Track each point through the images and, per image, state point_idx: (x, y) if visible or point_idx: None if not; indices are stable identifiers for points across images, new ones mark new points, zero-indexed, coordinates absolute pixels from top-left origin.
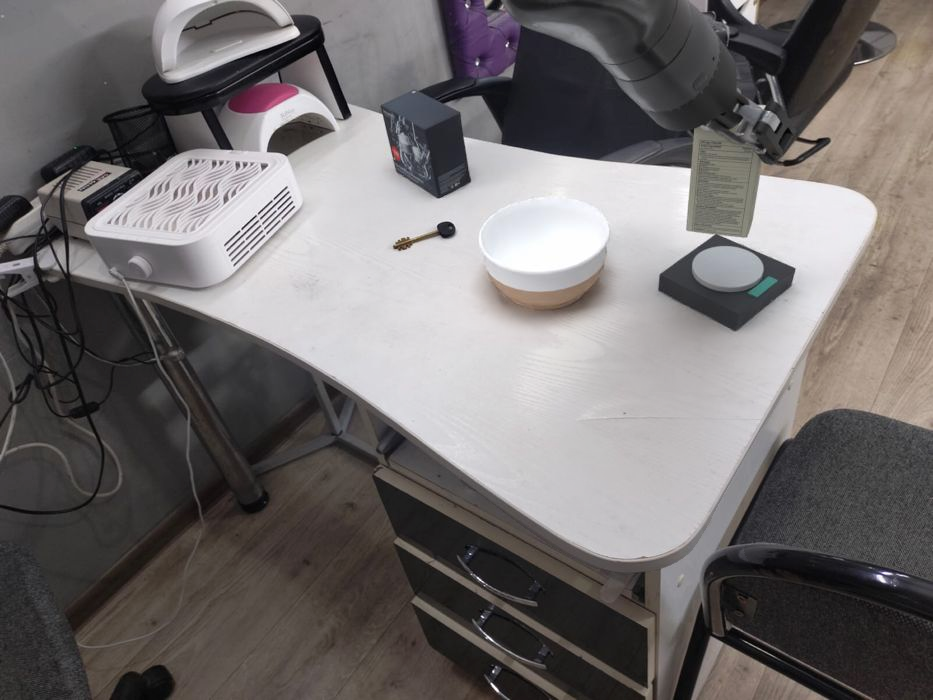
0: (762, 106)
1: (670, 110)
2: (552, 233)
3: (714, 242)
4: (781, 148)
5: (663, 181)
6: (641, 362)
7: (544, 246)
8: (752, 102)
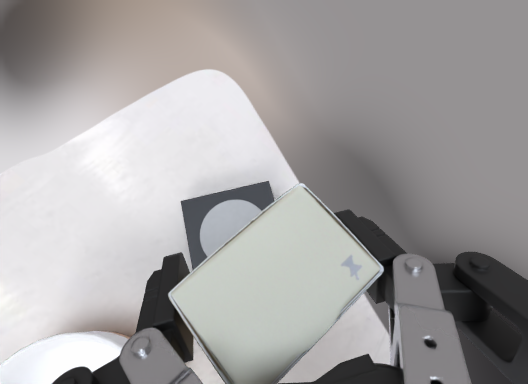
0: (294, 199)
1: None
2: (42, 369)
3: (191, 212)
4: (500, 317)
5: (55, 168)
6: (280, 380)
7: (51, 381)
8: (464, 360)
